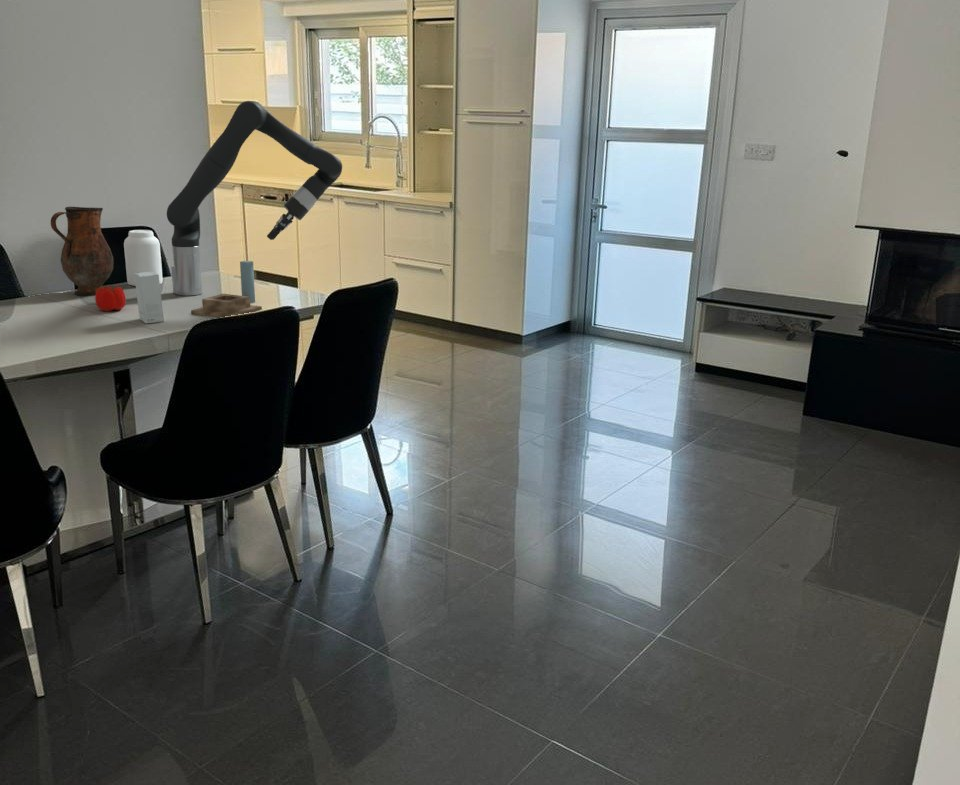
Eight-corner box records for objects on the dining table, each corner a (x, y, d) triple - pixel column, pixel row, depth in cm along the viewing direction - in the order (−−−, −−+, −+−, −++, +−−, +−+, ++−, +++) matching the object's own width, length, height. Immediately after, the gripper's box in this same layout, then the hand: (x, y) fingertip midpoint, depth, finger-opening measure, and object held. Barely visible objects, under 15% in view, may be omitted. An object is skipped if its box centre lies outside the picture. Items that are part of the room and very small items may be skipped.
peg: (239, 302, 296) (237, 262, 292) (247, 300, 300) (245, 260, 296) (250, 303, 295) (248, 263, 291) (257, 301, 299) (255, 261, 294)
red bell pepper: (90, 311, 277) (88, 288, 274) (111, 306, 285) (109, 283, 282) (113, 314, 273) (111, 291, 271) (133, 309, 281) (131, 286, 279)
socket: (191, 313, 278) (190, 299, 276) (222, 304, 292) (221, 291, 291) (232, 318, 272) (231, 304, 271) (261, 309, 287) (261, 296, 285)
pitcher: (127, 291, 308) (119, 207, 299) (78, 301, 289) (68, 211, 280) (93, 286, 314) (84, 203, 305) (43, 296, 296) (32, 208, 287)
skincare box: (164, 322, 265) (160, 274, 260) (144, 324, 262) (139, 276, 257) (157, 316, 272) (153, 270, 267) (137, 318, 268) (133, 271, 264)
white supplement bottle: (141, 288, 315) (136, 233, 309) (120, 284, 321) (115, 230, 315) (169, 283, 325) (165, 230, 319) (149, 279, 332) (144, 227, 326)
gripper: (290, 196, 300) (259, 231, 299) (294, 194, 287) (262, 230, 286) (306, 211, 303) (276, 245, 301) (311, 209, 289) (279, 245, 288)
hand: (269, 238), depth 294 cm, fingers open, 8 cm apart
